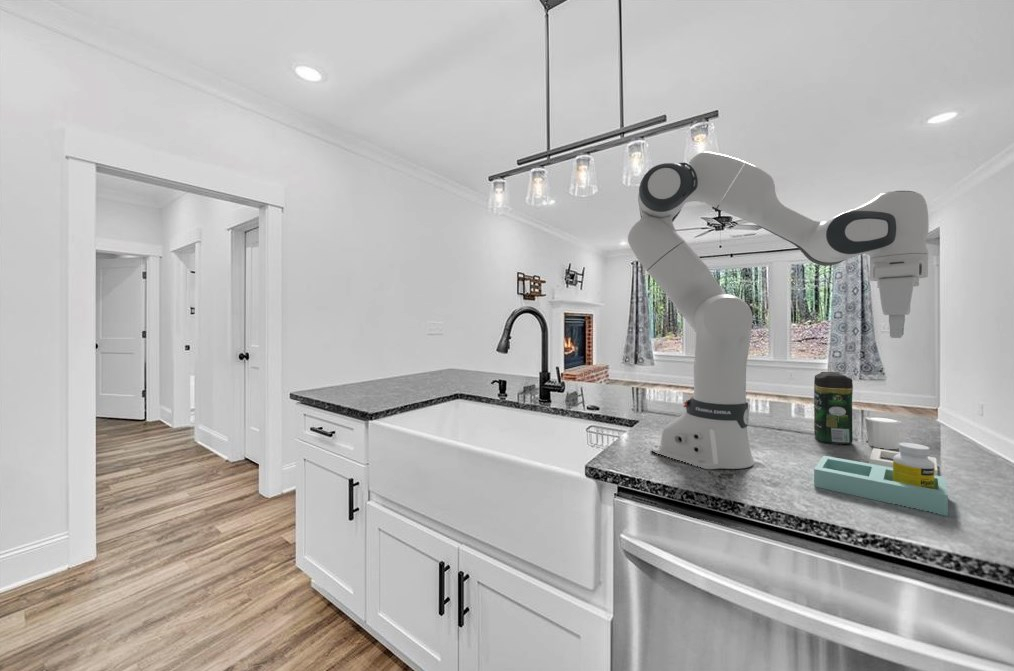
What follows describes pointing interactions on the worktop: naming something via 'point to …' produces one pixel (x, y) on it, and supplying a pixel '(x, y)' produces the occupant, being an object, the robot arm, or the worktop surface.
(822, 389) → the coffee jar
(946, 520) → the worktop surface
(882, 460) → the white shallow tray
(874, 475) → the block
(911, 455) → the supplement bottle
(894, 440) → the white round container
